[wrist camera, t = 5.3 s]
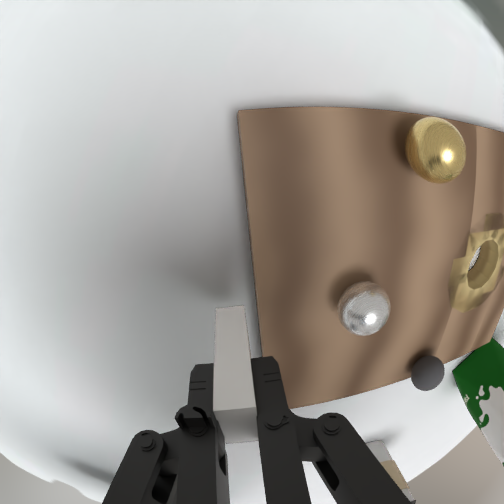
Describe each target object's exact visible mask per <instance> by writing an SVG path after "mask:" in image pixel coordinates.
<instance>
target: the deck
mask: <svg viewBox="0 0 504 504" xmlns="http://www.w3.org/2000/svg"><path fill="white" fill-rule="evenodd" d="M426 117H434V116H428V115H421V114H414V113H407V112H399V111H389V110H379V109H366V108H348V107H282V108H264V109H250V110H239V111H238V113H237V121H238V131H239V140H240V150H241V159H242V169H243V179H244V188H245V198H246V207H247V217H248V226H249V236H250V245H251V255H252V265H253V274H254V284H255V293H256V303H257V312H258V322H259V331H260V340H261V350H262V357H267V356H273V357H274V359H275V360H276V361H277V362H278V364H279V368H280V373H281V377H282V382H283V386H284V391H285V395H286V400H287V404H288V407H289V409H293V408H299V407H304V406H309V405H314V404H319V403H324V402H328V401H332V400H337V399H341V398H345V397H349V396H352V395H356V394H360V393H363V392H367V391H370V390H374V389H377V388H380V387H383V386H387V385H390V384H393V383H396V382H399V381H402V380H404V379H407V378H410V377H411V372H412V368H413V366H414V365H415V363H416V362H417V361H418V360H419V359H421V358H422V357H425V356H435V357H437V358H439V359H440V360H441V361H442V363H443V364H445V363H447V362H450V361H452V360H454V359H456V358H458V357H461V356H463V355H465V354H467V353H469V352H471V351H473V350H475V349H477V348H479V347H481V346H483V345H485V344H487V343H488V342H490V340H491V338H492V336H493V333H494V331H495V329H496V326H497V324H498V321H499V319H500V316H501V314H502V311H503V309H504V133H503V132H499V131H496V130H492V129H489V128H485V127H481V126H477V125H473V124H469V123H464V122H460V121H455V120H450V119H445V118H441V119H444V120H446V121H448V122H449V123H451V124H452V125H453V126H454V127H455V128H456V129H457V130H458V131H459V133H460V134H461V136H462V138H463V140H464V142H465V146H466V162H465V166H464V168H463V170H462V172H461V173H460V174H459V176H458V177H456V178H455V179H454V180H452V181H450V182H447V183H442V184H437V183H431V182H428V181H426V180H424V179H423V178H421V177H420V176H418V175H417V174H416V173H415V172H414V170H413V169H412V168H411V166H410V164H409V162H408V160H407V157H406V153H405V139H406V135H407V133H408V131H409V129H410V128H411V126H412V125H413V124H414V123H416V122H417V121H418V120H420V119H423V118H426ZM437 118H439V117H437ZM480 246H481V249H480V254H479V257H478V259H477V261H476V263H475V265H474V267H473V268H472V269H471V270H470V271H469V272H468V269H469V265H470V262H471V260H472V258H473V256H474V254H475V252H476V250H477V249H478V248H479V247H480ZM361 281H369V282H373V283H376V284H377V285H379V286H380V287H382V288H383V289H384V290H385V292H386V293H387V295H388V297H389V300H390V315H389V318H388V320H387V322H386V324H385V325H384V326H383V327H382V328H381V329H380V330H379V331H377V332H376V333H374V334H371V335H367V336H359V335H355V334H352V333H350V332H349V331H347V330H346V329H345V328H344V327H343V326H342V324H341V322H340V320H339V317H338V312H337V307H338V302H339V299H340V297H341V295H342V293H343V292H344V291H345V290H346V289H347V288H348V287H349V286H351V285H352V284H354V283H357V282H361Z"/></svg>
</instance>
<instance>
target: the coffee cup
mask: <svg viewBox="0 0 504 504" xmlns="http://www.w3.org/2000/svg"><path fill="white" fill-rule="evenodd" d="M366 445H367V446H368V448H369V449H370V450H371V452H372V453H373V454H374V455H375V457H376V458H377V459H378V461H379V462H380V463H381V465H382V466H383V467H384V469H385V470H386V471H387V472H388V474H389V475H390V476H391V478H392V479H393V480H394V481H395V483H396V484H397V485H398V487H399V488H400V489H401V490H402V492H403V493H404V494H405V495H406V497H407V498H408V499H409V501H410V502H411V503H412V504H415V502H416V500H414V499H413V497H412V495H411V493H410V491H409V487H408V485H407V483H406V481H405V479H404V477H403V476H402V474H401V472H400V470H399V468H398V467H397V465H396V463H395V461H394V460H393V459H392V458H391V456H390V454H389V452H388V450H387V448H386V447H385V445H384V443H383V442H382V441H373V442H369V443H366Z"/></svg>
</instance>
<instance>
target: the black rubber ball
mask: <svg viewBox="0 0 504 504" xmlns="http://www.w3.org/2000/svg"><path fill="white" fill-rule="evenodd" d="M443 377H444V365H443V363H442V361H441V360H440V359H439V358H437V357H435V356H425V357H422V358H421V359H419V360H418V361H417V362H416V363H415V365H414V366H413V368H412V372H411V379H412V382H413V384H414V386H415V387H416V388H418V389H420V390H423V391H428V390H432V389H434V388H435V387H437V386H438V385H439V384H440V383H441V381H442V379H443Z"/></svg>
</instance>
